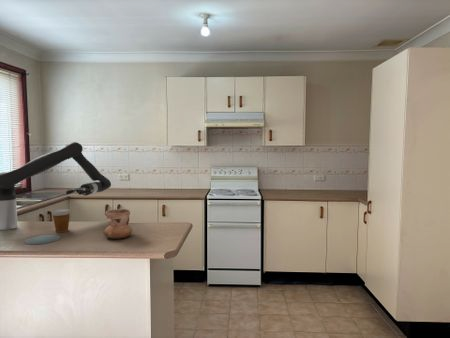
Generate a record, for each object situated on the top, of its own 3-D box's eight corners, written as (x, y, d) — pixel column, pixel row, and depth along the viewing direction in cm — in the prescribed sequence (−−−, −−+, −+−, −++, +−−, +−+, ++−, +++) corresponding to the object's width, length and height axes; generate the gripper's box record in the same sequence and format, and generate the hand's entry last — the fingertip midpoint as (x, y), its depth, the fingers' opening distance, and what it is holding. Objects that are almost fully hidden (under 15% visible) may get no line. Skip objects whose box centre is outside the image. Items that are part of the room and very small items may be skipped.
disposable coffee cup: (57, 234, 180) (56, 212, 179) (49, 231, 186) (48, 210, 185) (74, 230, 188) (73, 209, 187) (66, 227, 193) (65, 208, 193)
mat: (17, 241, 166) (17, 241, 166) (47, 234, 180) (47, 233, 180) (36, 246, 159) (36, 245, 159) (66, 237, 173) (66, 237, 173)
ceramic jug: (119, 242, 164) (119, 215, 163) (96, 239, 169) (96, 212, 168) (140, 234, 181) (140, 208, 180) (118, 231, 186) (118, 206, 185)
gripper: (78, 183, 213) (62, 186, 197) (98, 183, 210) (83, 186, 194) (79, 194, 213) (62, 198, 197) (99, 194, 211) (83, 199, 195)
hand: (72, 192), depth 196 cm, fingers open, 8 cm apart
